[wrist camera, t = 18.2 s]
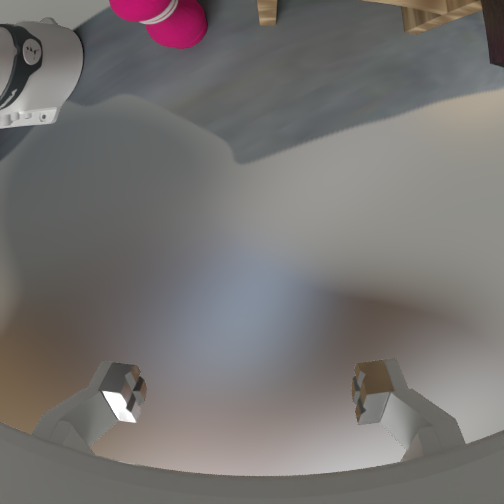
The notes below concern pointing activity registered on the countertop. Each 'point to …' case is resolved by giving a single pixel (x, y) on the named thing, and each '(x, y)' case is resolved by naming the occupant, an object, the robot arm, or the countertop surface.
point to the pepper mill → (166, 19)
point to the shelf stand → (413, 11)
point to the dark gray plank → (494, 29)
